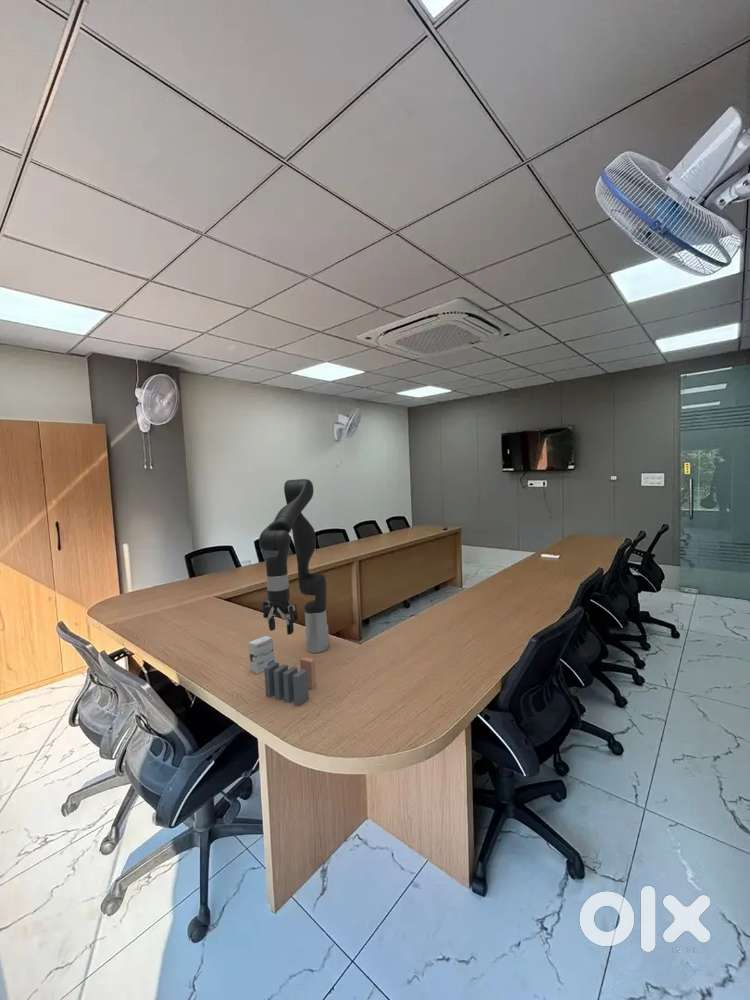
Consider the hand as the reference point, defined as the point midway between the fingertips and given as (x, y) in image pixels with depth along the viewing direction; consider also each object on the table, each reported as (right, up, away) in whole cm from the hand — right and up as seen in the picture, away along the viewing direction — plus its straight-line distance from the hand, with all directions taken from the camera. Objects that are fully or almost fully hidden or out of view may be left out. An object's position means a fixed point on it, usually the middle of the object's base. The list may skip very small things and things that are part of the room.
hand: (281, 631), depth 144 cm
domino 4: (+9, -21, +3) cm, 23 cm away
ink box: (-12, -21, +19) cm, 31 cm away
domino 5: (+8, -21, -7) cm, 24 cm away
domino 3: (+5, -22, -4) cm, 22 cm away
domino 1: (-3, -22, 0) cm, 22 cm away
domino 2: (+1, -22, -2) cm, 22 cm away
